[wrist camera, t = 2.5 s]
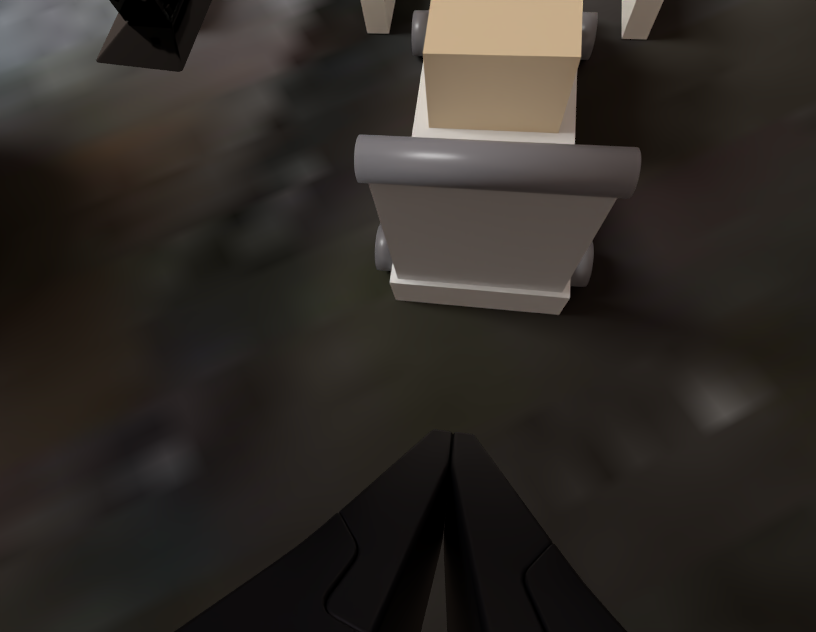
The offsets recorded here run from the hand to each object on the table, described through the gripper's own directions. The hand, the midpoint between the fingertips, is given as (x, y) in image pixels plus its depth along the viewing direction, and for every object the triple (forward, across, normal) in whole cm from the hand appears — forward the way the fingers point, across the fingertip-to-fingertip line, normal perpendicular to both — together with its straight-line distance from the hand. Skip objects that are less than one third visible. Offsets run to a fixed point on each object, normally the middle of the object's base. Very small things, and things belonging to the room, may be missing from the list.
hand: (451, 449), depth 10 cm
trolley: (+17, 0, +3) cm, 18 cm away
